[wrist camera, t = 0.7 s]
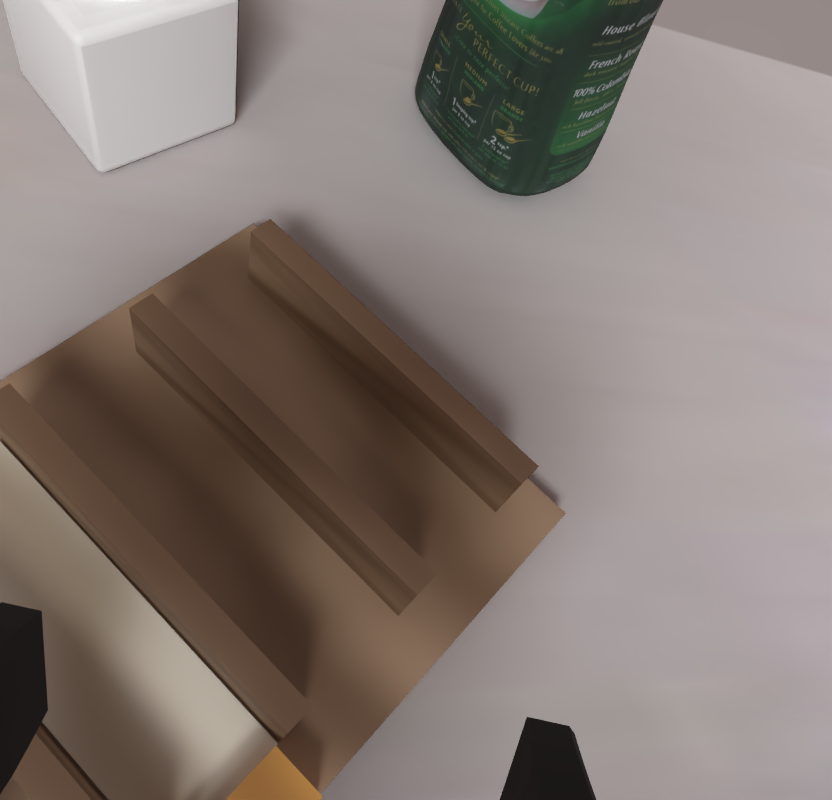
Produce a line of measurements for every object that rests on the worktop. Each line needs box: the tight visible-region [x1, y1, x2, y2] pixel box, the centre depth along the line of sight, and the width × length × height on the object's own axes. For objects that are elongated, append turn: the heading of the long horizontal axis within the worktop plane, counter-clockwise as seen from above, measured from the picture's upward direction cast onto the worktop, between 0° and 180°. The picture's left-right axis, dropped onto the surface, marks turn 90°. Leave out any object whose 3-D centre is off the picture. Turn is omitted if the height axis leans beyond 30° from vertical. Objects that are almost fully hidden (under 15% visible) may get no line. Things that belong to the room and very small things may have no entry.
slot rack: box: [0, 219, 565, 800], centre depth 27 cm, size 20×18×4 cm
